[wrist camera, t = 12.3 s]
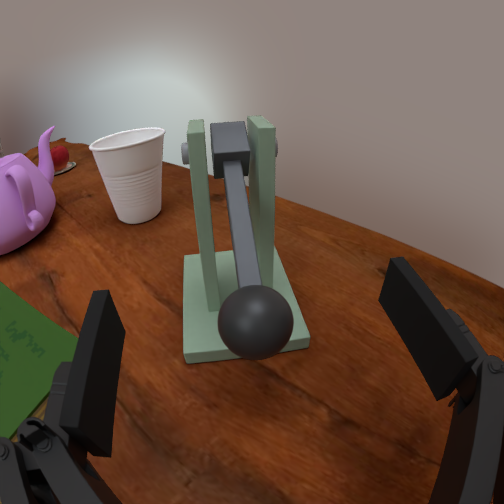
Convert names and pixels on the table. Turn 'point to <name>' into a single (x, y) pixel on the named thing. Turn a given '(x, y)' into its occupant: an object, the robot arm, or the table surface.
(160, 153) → the cup
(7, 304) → the book
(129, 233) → the table surface
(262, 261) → the switch bracket
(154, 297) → the table surface
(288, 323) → the switch lever
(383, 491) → the table surface
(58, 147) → the apple
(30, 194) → the teapot
